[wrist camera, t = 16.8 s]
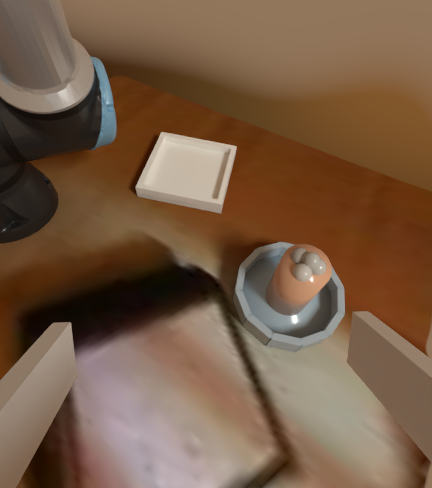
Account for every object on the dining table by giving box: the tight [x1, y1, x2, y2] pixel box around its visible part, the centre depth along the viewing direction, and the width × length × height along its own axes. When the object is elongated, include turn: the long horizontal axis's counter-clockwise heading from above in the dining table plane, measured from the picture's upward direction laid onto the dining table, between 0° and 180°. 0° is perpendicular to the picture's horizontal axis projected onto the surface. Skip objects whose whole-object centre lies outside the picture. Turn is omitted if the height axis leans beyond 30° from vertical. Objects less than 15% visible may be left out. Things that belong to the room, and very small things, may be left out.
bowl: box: [233, 242, 345, 352], centre depth 46 cm, size 16×16×4 cm
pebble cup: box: [266, 244, 332, 316], centre depth 42 cm, size 6×6×12 cm
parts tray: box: [135, 132, 237, 213], centre depth 59 cm, size 16×16×2 cm
